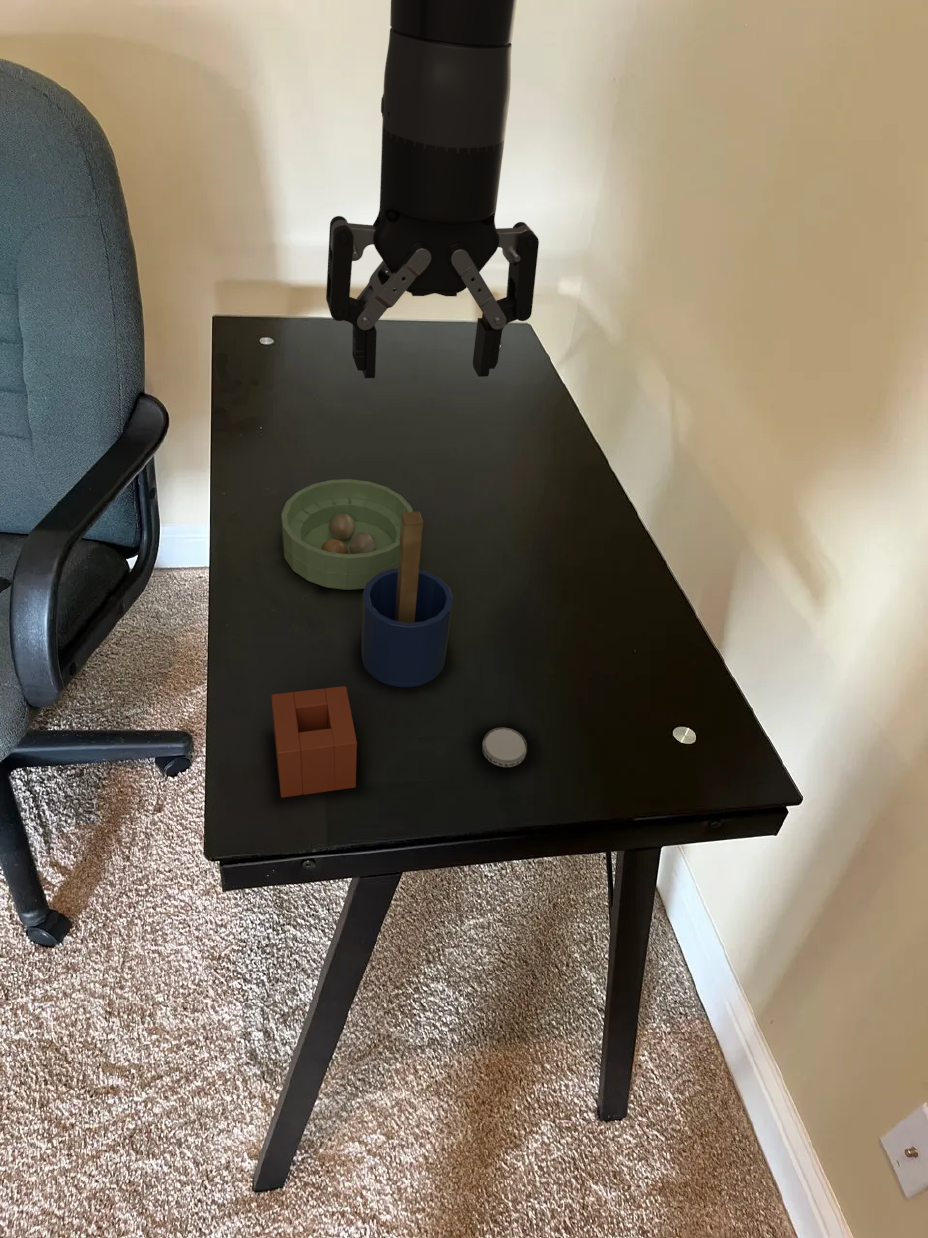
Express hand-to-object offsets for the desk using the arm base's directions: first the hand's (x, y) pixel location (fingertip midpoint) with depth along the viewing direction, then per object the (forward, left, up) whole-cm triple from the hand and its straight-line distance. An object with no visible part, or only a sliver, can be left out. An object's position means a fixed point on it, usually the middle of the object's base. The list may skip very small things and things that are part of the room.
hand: (425, 372), depth 61 cm
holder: (-10, -12, -30) cm, 34 cm away
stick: (0, 0, -30) cm, 30 cm away
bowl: (-3, +17, -30) cm, 35 cm away
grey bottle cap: (+7, -13, -30) cm, 33 cm away
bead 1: (-4, +19, -28) cm, 34 cm away
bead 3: (-2, +15, -28) cm, 32 cm away
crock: (0, 0, -30) cm, 30 cm away
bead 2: (-5, +14, -28) cm, 32 cm away
